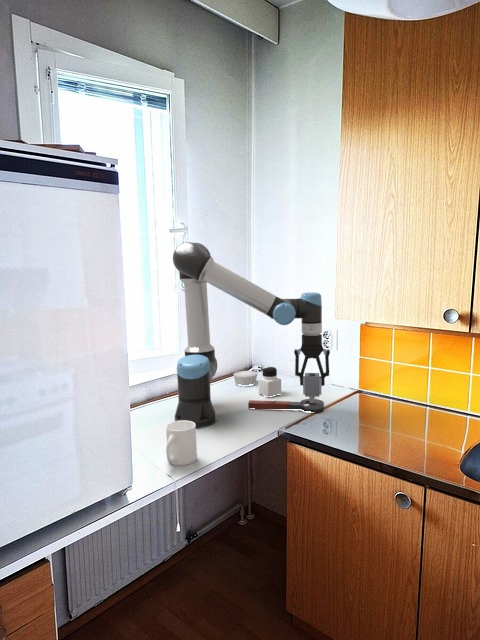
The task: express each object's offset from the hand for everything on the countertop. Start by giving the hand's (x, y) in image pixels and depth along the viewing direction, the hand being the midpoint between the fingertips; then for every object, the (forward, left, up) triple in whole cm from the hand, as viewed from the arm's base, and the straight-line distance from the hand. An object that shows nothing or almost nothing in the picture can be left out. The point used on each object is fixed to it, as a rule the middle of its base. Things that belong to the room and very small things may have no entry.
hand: (312, 393), depth 178 cm
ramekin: (-31, +34, -7) cm, 47 cm away
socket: (0, 0, 0) cm, 0 cm away
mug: (-38, -50, -7) cm, 63 cm away
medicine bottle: (-18, +18, -7) cm, 26 cm away
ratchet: (-10, 0, -7) cm, 12 cm away
